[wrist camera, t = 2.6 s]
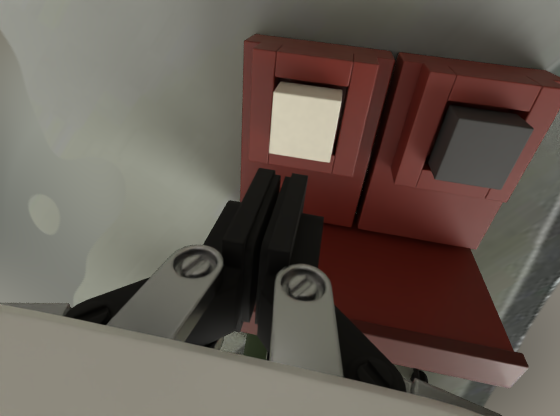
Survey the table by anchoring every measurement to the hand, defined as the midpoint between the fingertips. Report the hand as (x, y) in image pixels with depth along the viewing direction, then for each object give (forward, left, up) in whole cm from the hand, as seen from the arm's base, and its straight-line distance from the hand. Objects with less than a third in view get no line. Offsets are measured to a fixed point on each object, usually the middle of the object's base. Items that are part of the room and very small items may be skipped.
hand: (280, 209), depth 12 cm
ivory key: (0, 0, -8) cm, 8 cm away
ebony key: (0, +8, -8) cm, 12 cm away
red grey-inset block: (+2, +8, -12) cm, 15 cm away
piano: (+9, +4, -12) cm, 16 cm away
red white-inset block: (+2, 0, -12) cm, 13 cm away
